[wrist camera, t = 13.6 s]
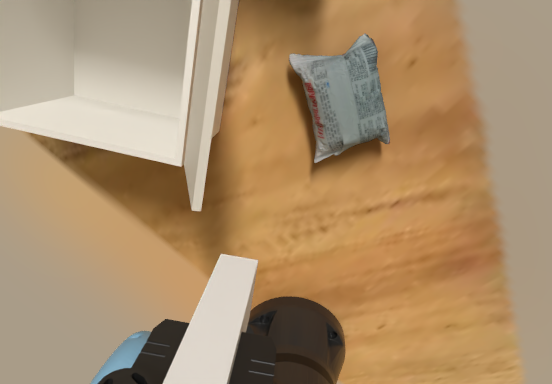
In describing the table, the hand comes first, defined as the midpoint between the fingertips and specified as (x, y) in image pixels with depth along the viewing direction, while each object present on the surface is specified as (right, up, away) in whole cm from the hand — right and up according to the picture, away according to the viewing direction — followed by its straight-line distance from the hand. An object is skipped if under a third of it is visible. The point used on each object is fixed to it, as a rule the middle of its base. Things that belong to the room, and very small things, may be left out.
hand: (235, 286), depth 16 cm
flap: (-3, +11, +10) cm, 16 cm away
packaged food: (+9, +14, +28) cm, 33 cm away
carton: (-12, +20, +27) cm, 36 cm away
